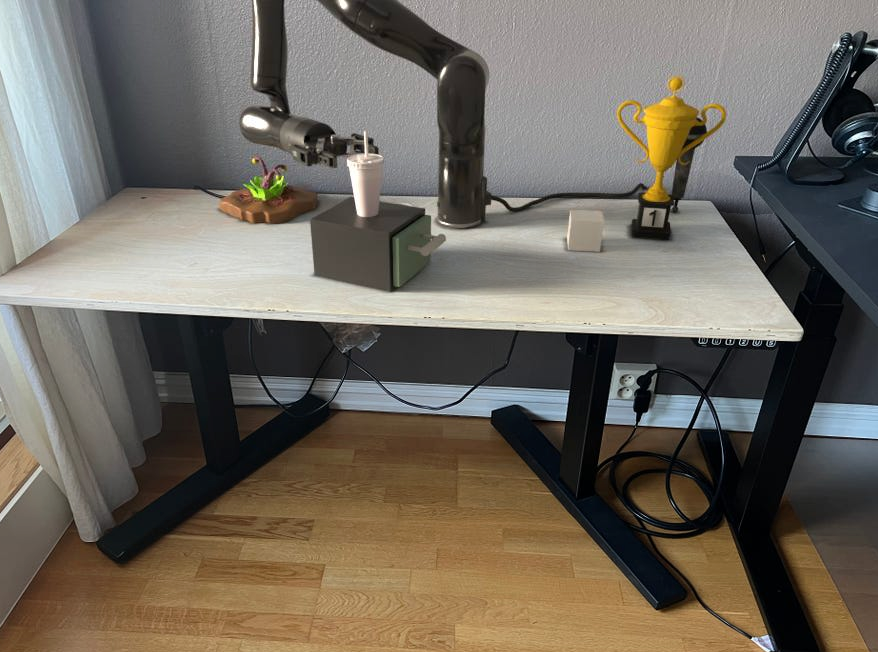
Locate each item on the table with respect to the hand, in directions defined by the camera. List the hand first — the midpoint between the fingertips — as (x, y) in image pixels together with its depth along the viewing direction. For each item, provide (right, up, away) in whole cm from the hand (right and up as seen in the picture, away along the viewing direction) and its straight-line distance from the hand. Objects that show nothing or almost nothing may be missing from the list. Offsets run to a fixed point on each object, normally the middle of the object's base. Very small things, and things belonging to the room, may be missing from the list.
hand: (356, 157), depth 123 cm
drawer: (+6, -18, +6) cm, 20 cm away
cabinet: (+2, -18, +8) cm, 20 cm away
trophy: (+58, -9, +22) cm, 63 cm away
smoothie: (+2, -9, +3) cm, 10 cm away
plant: (-22, 0, +39) cm, 45 cm away
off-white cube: (+43, -13, +17) cm, 48 cm away
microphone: (+67, -3, +32) cm, 75 cm away
